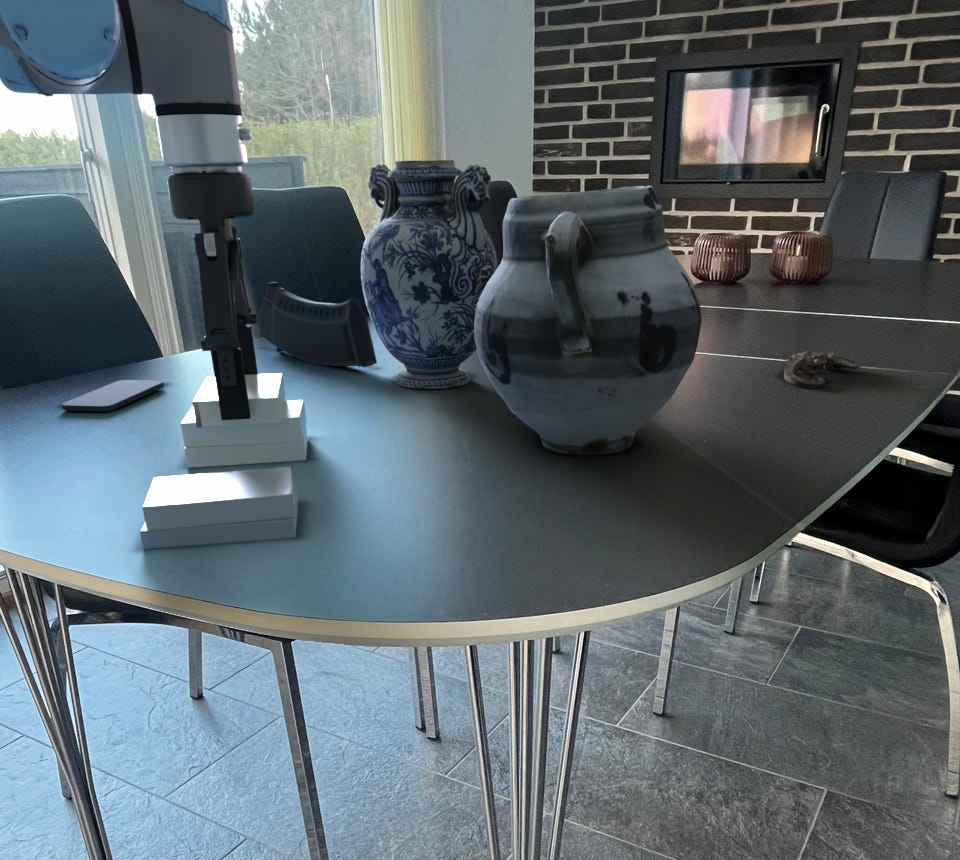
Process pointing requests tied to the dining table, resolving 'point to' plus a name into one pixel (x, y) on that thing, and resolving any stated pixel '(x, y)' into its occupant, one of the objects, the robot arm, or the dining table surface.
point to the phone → (113, 395)
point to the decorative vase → (427, 267)
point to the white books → (247, 440)
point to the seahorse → (813, 367)
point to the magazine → (316, 329)
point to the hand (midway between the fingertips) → (242, 403)
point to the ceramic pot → (587, 317)
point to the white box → (220, 508)
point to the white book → (262, 400)
